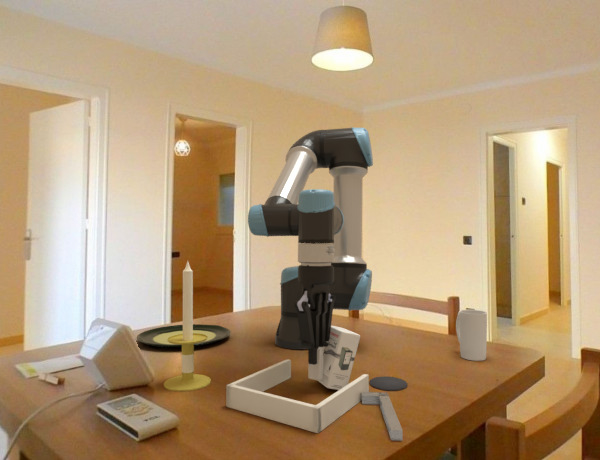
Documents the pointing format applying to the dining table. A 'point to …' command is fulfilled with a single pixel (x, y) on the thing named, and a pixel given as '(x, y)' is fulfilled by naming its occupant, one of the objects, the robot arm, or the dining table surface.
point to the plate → (163, 333)
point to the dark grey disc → (388, 383)
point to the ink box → (339, 357)
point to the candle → (187, 343)
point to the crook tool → (385, 412)
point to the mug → (472, 334)
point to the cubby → (289, 411)
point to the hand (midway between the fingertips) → (315, 378)
